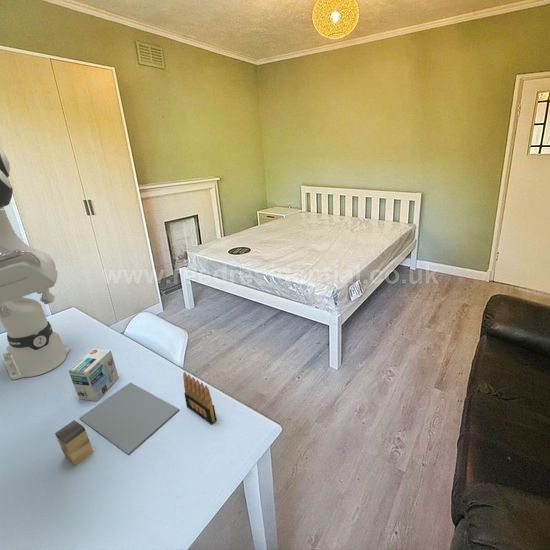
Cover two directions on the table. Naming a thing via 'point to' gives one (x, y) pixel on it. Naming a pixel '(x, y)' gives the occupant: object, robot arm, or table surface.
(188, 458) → the table surface
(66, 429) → the oak block
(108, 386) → the light bulb box
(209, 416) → the ammunition clip
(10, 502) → the table surface
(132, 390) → the slate mat
